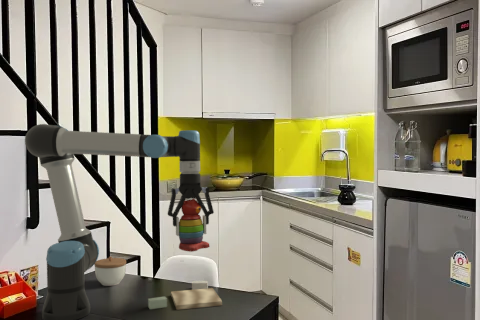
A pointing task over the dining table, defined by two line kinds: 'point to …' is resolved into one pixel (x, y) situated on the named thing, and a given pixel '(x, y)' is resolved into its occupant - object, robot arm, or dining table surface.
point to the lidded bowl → (110, 270)
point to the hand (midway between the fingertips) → (191, 234)
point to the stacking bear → (191, 227)
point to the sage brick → (157, 302)
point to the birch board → (195, 298)
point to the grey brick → (199, 285)
